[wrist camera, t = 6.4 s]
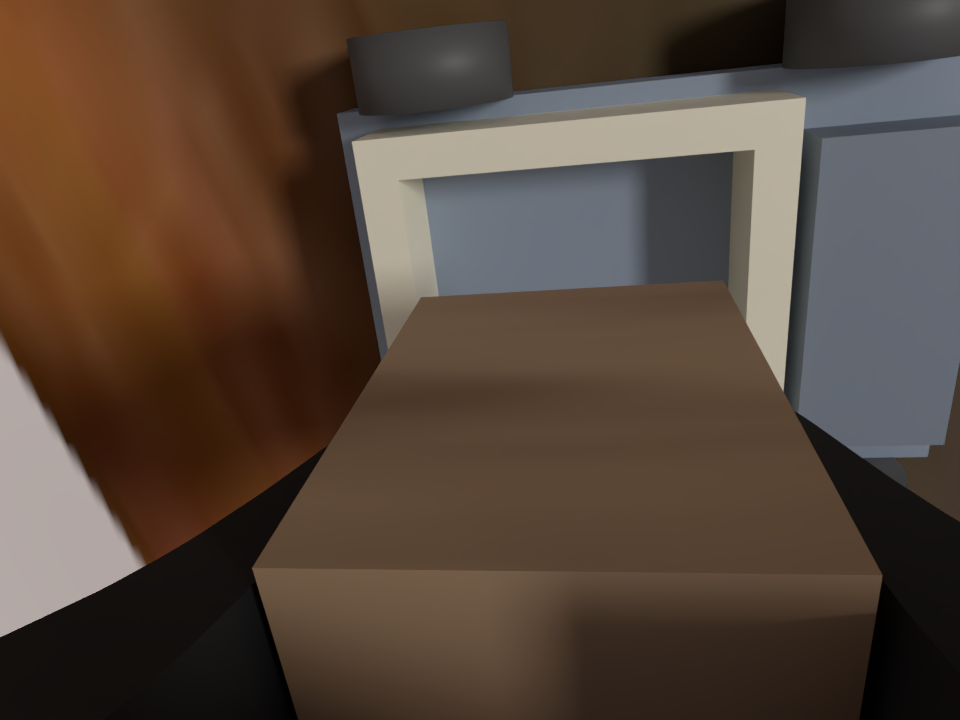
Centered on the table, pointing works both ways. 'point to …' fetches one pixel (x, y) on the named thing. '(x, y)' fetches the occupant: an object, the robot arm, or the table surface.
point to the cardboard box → (572, 526)
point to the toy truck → (694, 197)
